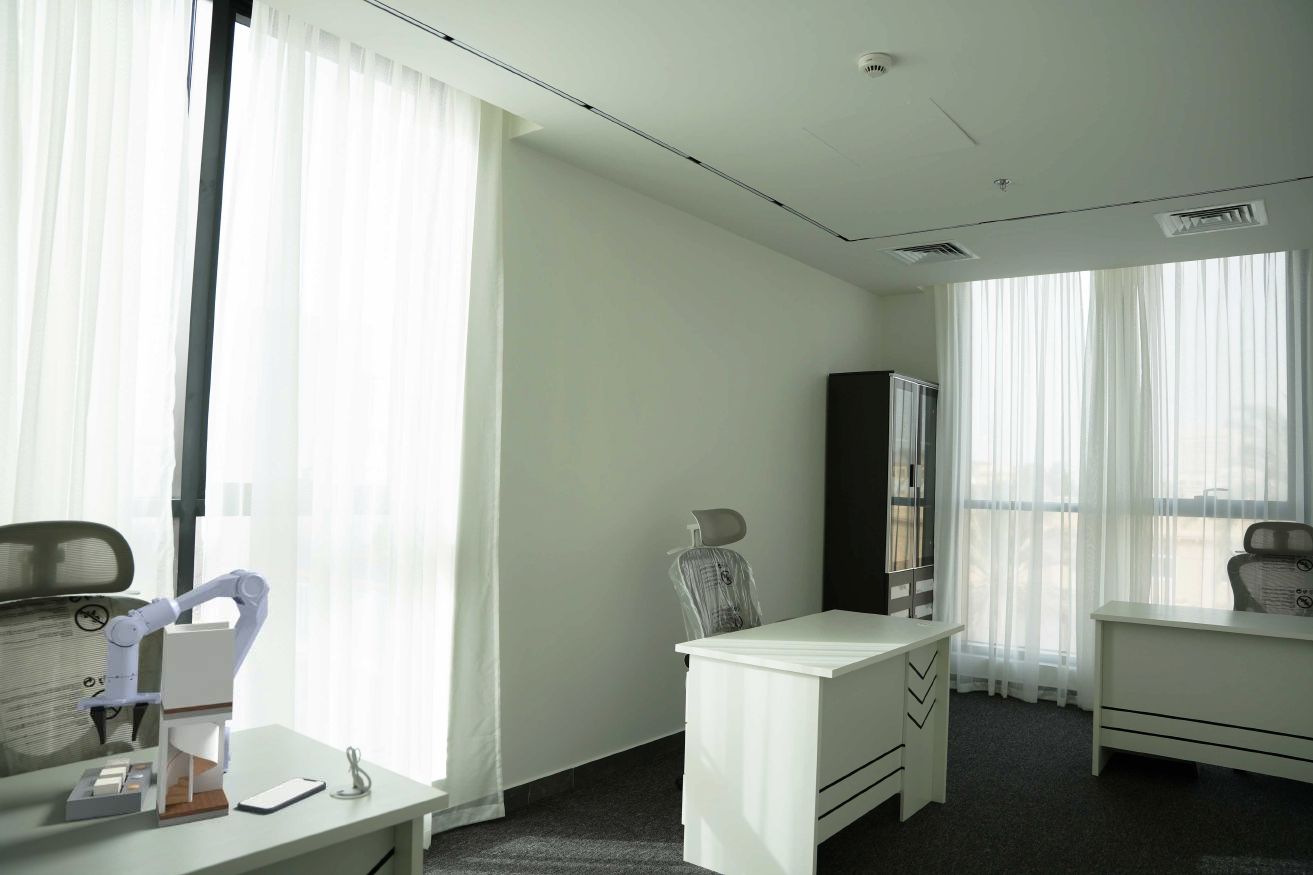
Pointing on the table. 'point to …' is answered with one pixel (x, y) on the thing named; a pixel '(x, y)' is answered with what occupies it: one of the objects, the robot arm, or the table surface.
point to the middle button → (114, 773)
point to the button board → (127, 801)
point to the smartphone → (282, 796)
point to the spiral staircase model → (194, 721)
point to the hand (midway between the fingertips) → (118, 741)
